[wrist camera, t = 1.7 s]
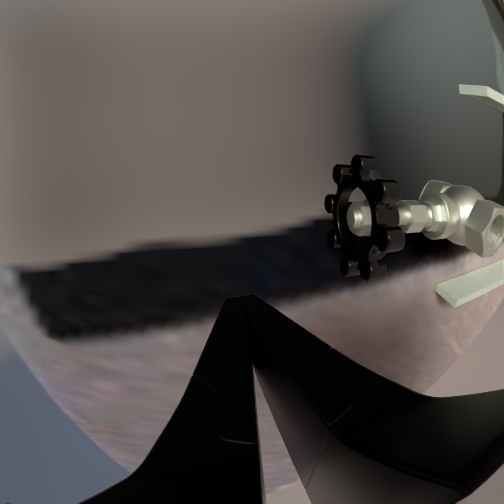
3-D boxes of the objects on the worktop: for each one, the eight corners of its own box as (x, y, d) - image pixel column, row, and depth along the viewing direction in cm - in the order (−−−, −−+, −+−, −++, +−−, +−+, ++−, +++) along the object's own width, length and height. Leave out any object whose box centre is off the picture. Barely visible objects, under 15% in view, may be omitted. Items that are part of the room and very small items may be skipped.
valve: (453, 162, 17) (326, 147, 15) (517, 185, 11) (399, 166, 9) (440, 238, 20) (319, 250, 18) (495, 274, 14) (373, 309, 12)
